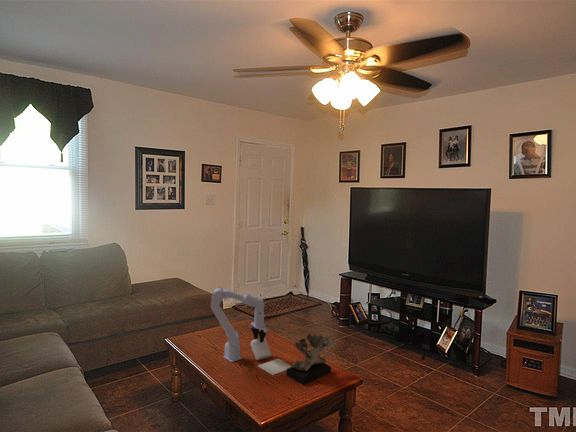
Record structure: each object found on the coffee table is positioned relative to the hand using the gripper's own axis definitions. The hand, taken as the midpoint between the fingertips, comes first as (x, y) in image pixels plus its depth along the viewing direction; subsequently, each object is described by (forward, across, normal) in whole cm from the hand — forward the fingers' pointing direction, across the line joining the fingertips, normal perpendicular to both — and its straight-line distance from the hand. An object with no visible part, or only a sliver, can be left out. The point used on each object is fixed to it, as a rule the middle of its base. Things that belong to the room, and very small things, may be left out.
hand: (258, 340), depth 228 cm
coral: (+10, -37, -11) cm, 40 cm away
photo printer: (+9, -6, 0) cm, 11 cm away
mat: (+10, -16, 0) cm, 19 cm away
